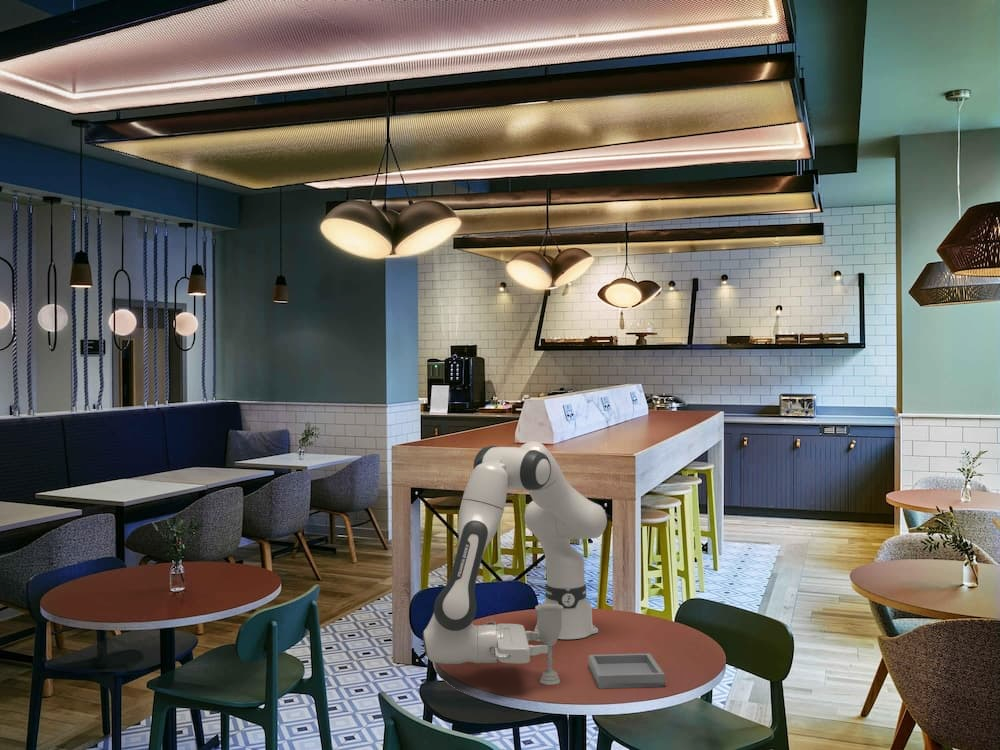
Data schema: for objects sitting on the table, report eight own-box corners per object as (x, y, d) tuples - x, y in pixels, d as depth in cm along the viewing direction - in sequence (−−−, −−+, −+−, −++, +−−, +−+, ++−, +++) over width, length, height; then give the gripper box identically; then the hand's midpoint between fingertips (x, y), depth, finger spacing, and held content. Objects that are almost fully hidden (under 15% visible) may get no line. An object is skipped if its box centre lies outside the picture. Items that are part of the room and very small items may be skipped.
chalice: (547, 674, 211) (546, 602, 211) (569, 679, 207) (569, 606, 207) (529, 682, 205) (529, 608, 206) (552, 688, 201) (551, 612, 201)
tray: (588, 666, 217) (588, 654, 217) (649, 665, 217) (649, 653, 217) (598, 688, 201) (598, 675, 201) (664, 686, 201) (664, 674, 201)
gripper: (490, 643, 195) (550, 642, 196) (488, 619, 216) (541, 618, 216) (491, 671, 195) (550, 669, 196) (488, 644, 216) (542, 642, 216)
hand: (545, 642), depth 206 cm, fingers open, 8 cm apart
